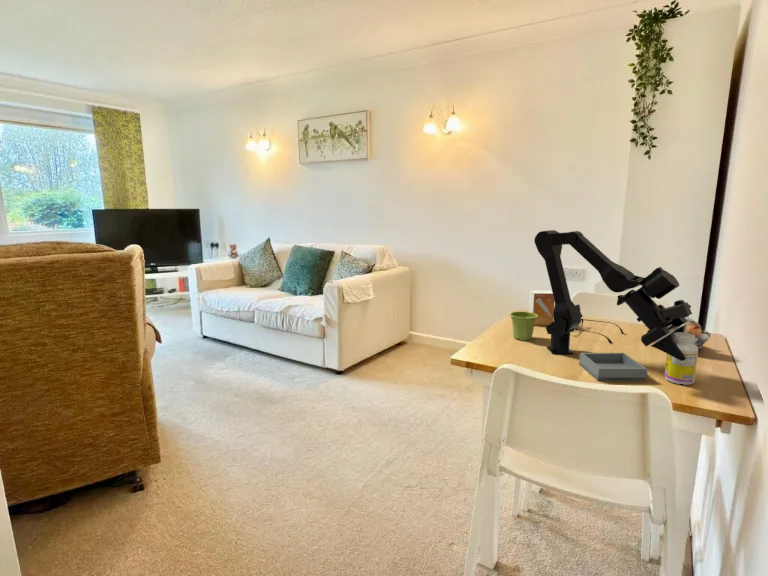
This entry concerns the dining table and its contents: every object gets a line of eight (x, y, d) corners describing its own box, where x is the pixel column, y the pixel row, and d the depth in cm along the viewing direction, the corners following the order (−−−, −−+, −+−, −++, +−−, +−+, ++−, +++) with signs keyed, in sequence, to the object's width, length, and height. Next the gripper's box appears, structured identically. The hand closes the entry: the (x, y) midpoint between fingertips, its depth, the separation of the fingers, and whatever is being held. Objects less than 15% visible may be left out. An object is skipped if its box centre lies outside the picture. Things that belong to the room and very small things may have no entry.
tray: (579, 364, 129) (580, 352, 128) (622, 364, 128) (623, 352, 127) (597, 381, 116) (598, 368, 116) (646, 381, 116) (647, 368, 115)
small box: (532, 325, 170) (533, 293, 167) (528, 321, 176) (529, 290, 173) (553, 325, 169) (555, 293, 167) (548, 321, 175) (550, 290, 173)
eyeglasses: (581, 327, 168) (581, 317, 168) (626, 334, 157) (627, 324, 157) (564, 336, 157) (564, 326, 156) (611, 345, 146) (612, 334, 145)
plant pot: (530, 334, 159) (532, 311, 158) (540, 341, 150) (542, 317, 148) (505, 334, 159) (506, 311, 157) (514, 342, 150) (515, 318, 148)
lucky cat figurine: (708, 346, 142) (723, 315, 133) (692, 368, 136) (707, 337, 128) (659, 325, 151) (670, 295, 143) (643, 344, 146) (653, 314, 137)
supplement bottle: (669, 374, 120) (674, 329, 118) (697, 381, 115) (703, 334, 113) (660, 380, 116) (665, 334, 114) (689, 388, 111) (695, 340, 109)
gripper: (659, 296, 108) (707, 349, 102) (682, 286, 120) (726, 333, 114) (623, 321, 115) (666, 371, 109) (648, 309, 127) (687, 354, 121)
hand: (688, 356), depth 113 cm, fingers closed on supplement bottle, 7 cm apart
